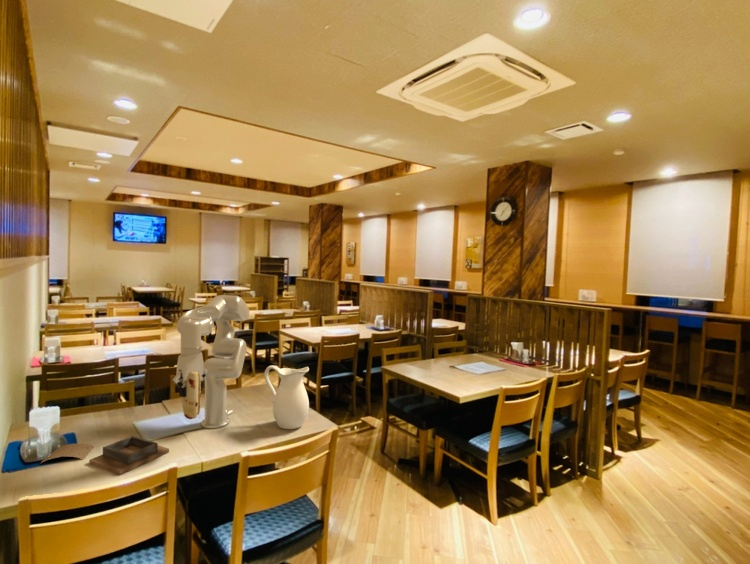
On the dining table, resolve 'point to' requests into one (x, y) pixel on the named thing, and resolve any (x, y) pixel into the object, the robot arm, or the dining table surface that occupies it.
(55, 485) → the dining table surface
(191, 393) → the food model
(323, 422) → the dining table surface
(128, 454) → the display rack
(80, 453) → the brown curved panel
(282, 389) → the pitcher
